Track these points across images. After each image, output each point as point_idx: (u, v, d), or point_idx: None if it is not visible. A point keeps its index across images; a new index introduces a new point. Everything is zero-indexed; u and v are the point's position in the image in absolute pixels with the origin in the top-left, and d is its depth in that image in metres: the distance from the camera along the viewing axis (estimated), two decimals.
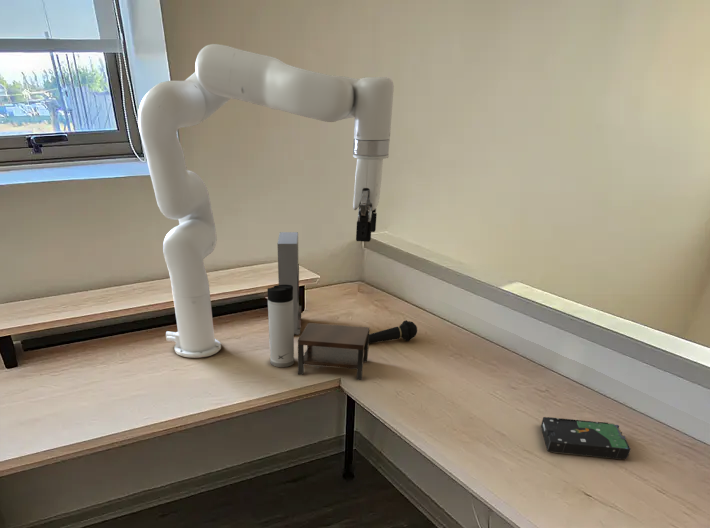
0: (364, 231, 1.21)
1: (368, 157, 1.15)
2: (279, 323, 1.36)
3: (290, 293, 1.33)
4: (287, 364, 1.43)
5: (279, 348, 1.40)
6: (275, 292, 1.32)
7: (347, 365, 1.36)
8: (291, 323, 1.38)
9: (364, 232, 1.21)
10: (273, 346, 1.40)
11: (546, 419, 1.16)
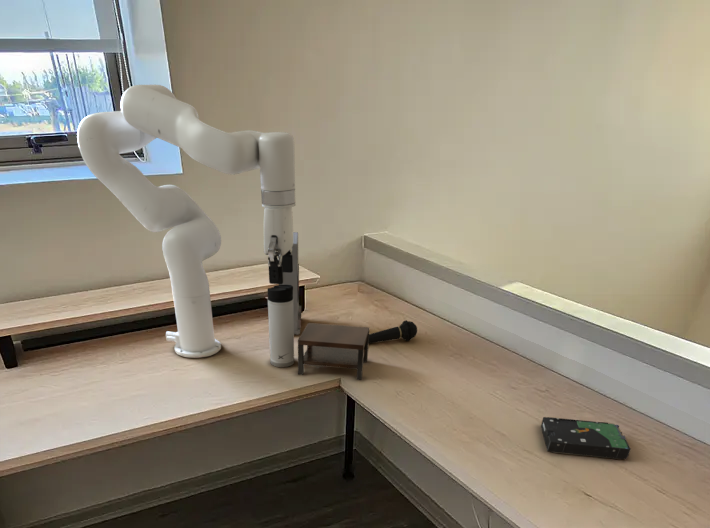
0: (275, 275, 1.27)
1: (274, 206, 1.20)
2: (279, 323, 1.36)
3: (290, 293, 1.33)
4: (287, 364, 1.43)
5: (279, 348, 1.40)
6: (275, 292, 1.32)
7: (347, 365, 1.36)
8: (291, 323, 1.38)
9: (276, 276, 1.27)
10: (273, 346, 1.40)
11: (546, 419, 1.16)
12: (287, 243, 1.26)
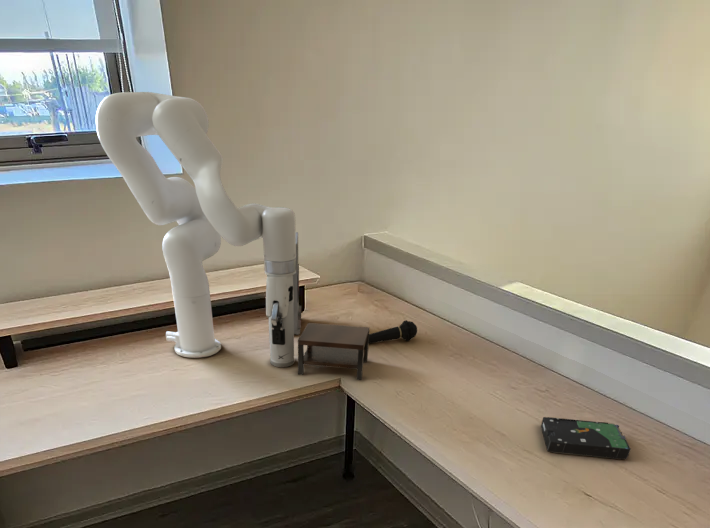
0: (278, 337, 1.37)
1: (276, 275, 1.29)
2: None
3: (290, 293, 1.33)
4: (287, 364, 1.43)
5: (279, 348, 1.40)
6: None
7: (347, 365, 1.36)
8: (291, 323, 1.38)
9: (278, 338, 1.37)
10: (273, 346, 1.40)
11: (546, 419, 1.16)
12: None
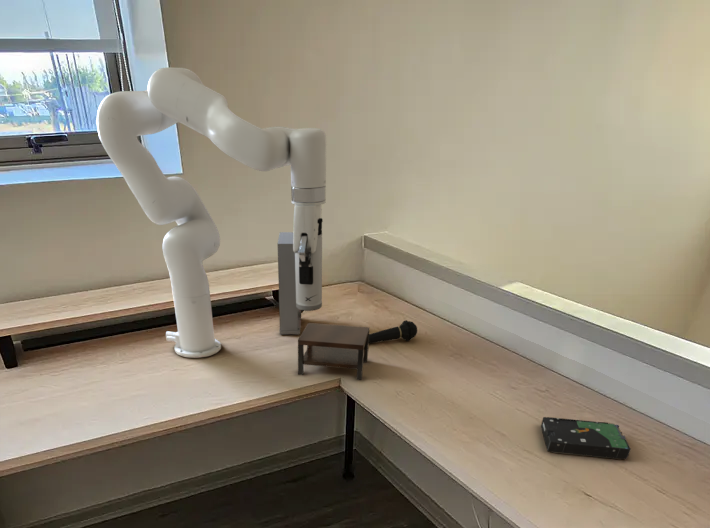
0: (306, 275, 1.27)
1: (304, 204, 1.19)
2: None
3: (319, 226, 1.23)
4: (315, 307, 1.33)
5: (306, 289, 1.30)
6: None
7: (347, 365, 1.36)
8: (320, 261, 1.27)
9: (306, 276, 1.27)
10: (300, 287, 1.30)
11: (546, 419, 1.16)
12: (316, 241, 1.24)
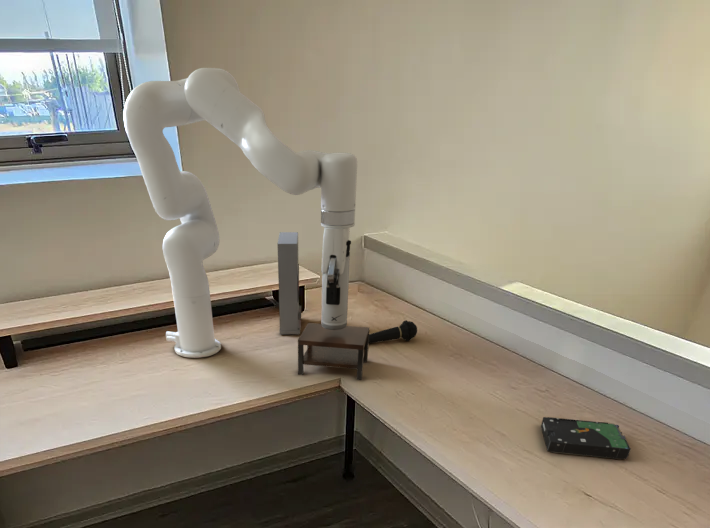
0: (333, 296, 1.28)
1: (334, 227, 1.20)
2: None
3: (348, 248, 1.25)
4: (340, 327, 1.34)
5: (333, 308, 1.31)
6: None
7: (347, 365, 1.36)
8: (347, 281, 1.29)
9: (333, 297, 1.28)
10: (326, 307, 1.32)
11: (546, 419, 1.16)
12: (344, 262, 1.26)
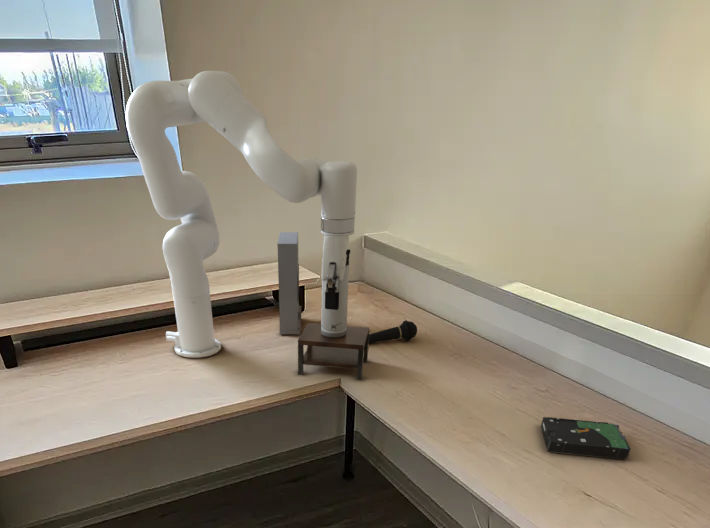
0: (332, 301, 1.27)
1: (334, 234, 1.21)
2: None
3: (347, 257, 1.26)
4: (340, 334, 1.35)
5: (332, 317, 1.32)
6: None
7: (347, 365, 1.36)
8: (346, 290, 1.30)
9: (332, 301, 1.27)
10: (326, 315, 1.33)
11: (546, 419, 1.16)
12: (344, 269, 1.26)
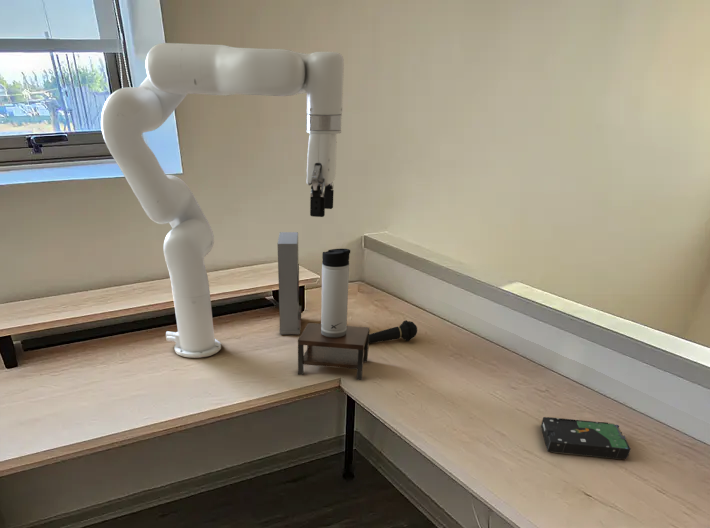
0: (317, 206, 1.23)
1: (320, 132, 1.16)
2: (334, 290, 1.29)
3: (347, 257, 1.26)
4: (340, 334, 1.35)
5: (332, 317, 1.32)
6: (332, 255, 1.24)
7: (347, 365, 1.36)
8: (346, 290, 1.30)
9: (317, 207, 1.23)
10: (326, 315, 1.33)
11: (546, 419, 1.16)
12: (330, 173, 1.22)
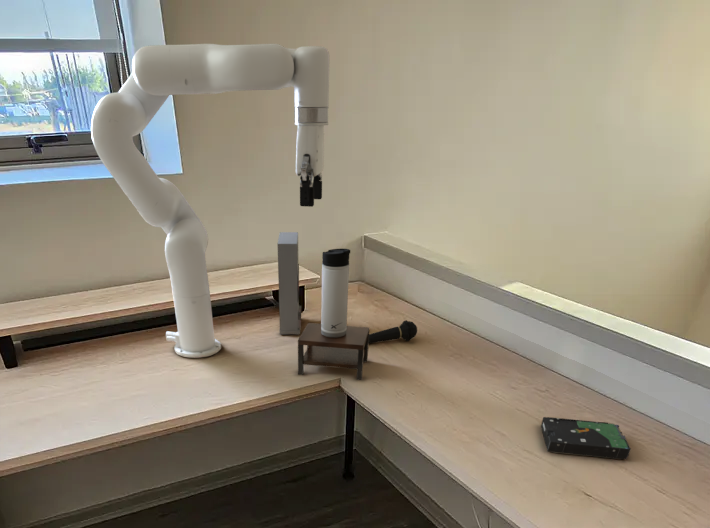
0: (307, 196, 1.27)
1: (307, 124, 1.21)
2: (334, 290, 1.29)
3: (347, 257, 1.26)
4: (340, 334, 1.35)
5: (332, 317, 1.32)
6: (332, 255, 1.24)
7: (347, 365, 1.36)
8: (346, 290, 1.30)
9: (307, 197, 1.27)
10: (326, 315, 1.33)
11: (546, 419, 1.16)
12: (319, 164, 1.26)
